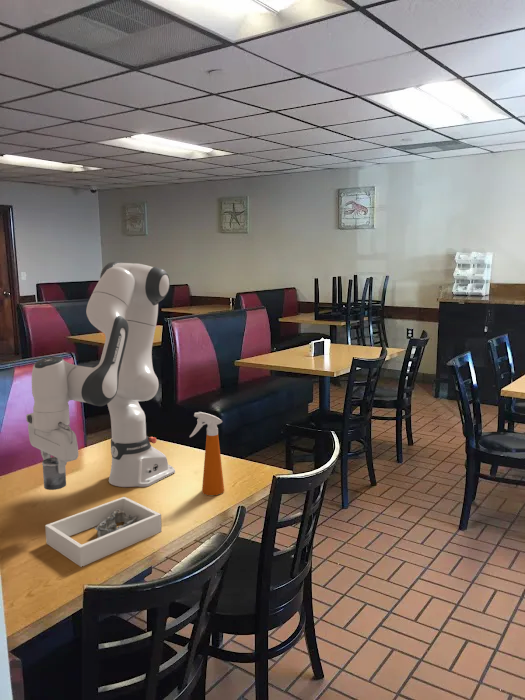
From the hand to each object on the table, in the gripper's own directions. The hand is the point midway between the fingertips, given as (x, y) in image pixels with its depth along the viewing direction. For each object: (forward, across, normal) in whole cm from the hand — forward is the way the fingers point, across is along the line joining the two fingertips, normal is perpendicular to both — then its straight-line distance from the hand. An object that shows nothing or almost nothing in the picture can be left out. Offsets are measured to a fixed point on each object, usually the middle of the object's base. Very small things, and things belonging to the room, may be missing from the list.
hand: (54, 469), depth 150 cm
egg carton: (+18, -12, -10) cm, 24 cm away
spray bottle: (+17, -11, -44) cm, 49 cm away
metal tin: (+5, 0, 0) cm, 5 cm away
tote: (+17, -13, -6) cm, 23 cm away
